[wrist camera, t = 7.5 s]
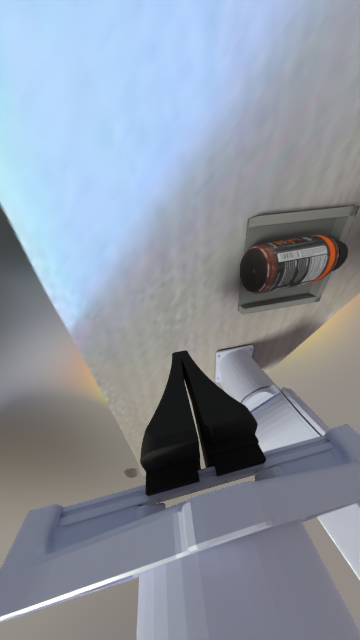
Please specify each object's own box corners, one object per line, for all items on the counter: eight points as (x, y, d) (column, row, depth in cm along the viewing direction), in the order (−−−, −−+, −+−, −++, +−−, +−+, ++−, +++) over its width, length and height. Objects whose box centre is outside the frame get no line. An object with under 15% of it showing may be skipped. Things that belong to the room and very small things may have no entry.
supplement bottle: (238, 248, 19) (310, 235, 20) (237, 290, 21) (301, 277, 22) (271, 241, 13) (369, 225, 14) (265, 299, 16) (349, 282, 17)
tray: (308, 297, 25) (319, 301, 23) (237, 310, 24) (243, 314, 22) (342, 208, 19) (359, 205, 17) (248, 219, 17) (257, 216, 16)
